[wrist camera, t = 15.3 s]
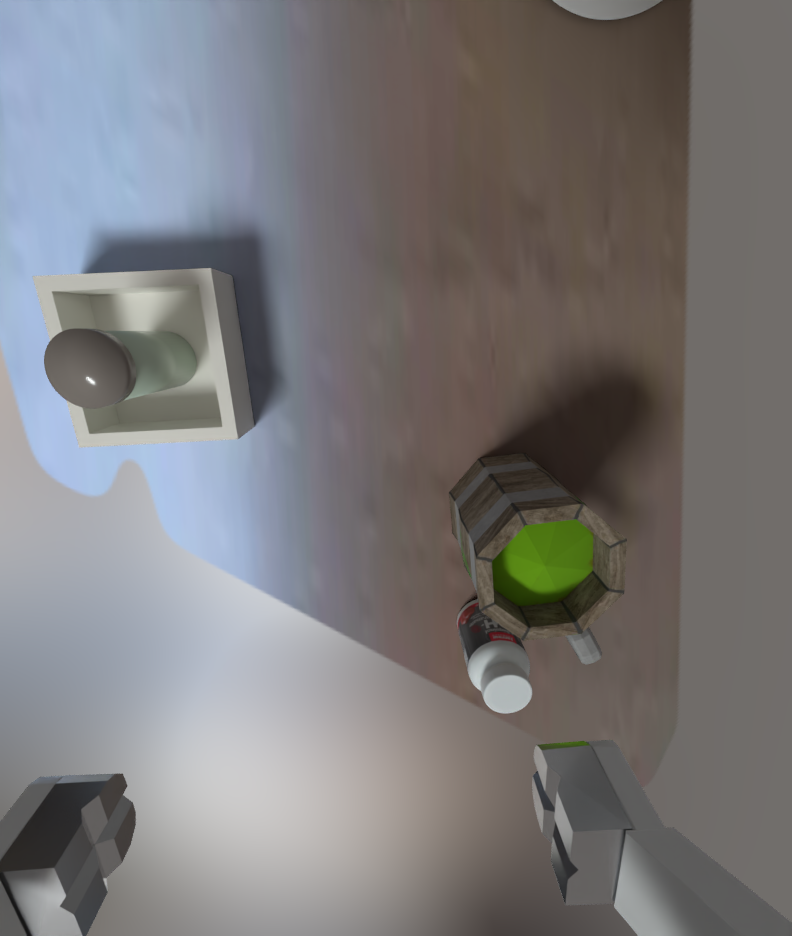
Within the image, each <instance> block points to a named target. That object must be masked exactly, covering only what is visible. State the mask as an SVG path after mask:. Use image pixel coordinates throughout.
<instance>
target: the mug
mask: <svg viewBox="0 0 792 936" xmlns="http://www.w3.org/2000/svg"><path fill="white" fill-rule="evenodd" d="M449 498H450V510H451V521H452V533H453V535H454V536H455V538H456V539H457V541H458V542H459V545H460V548H461V551H462V556H463V561H464V566H465V568H466V570H467V571H468V573H469V575H470V577H471V579H472V581H473V584H474V586H475V589H476V592H477V597H478V603H479V610H480V611H481V612H482V613H484V614H485V615H487V616H488V617H489V618H491V619H492V620H494V621H495V622H497V623H498V624H500V625H501V626H502V627H504V628H505V629H507V630H508V631H510V632H511V633H513V634H514V635H516V636H517V637H518V638H520V639H521V640H523V641H526V640H534V639H543V638H551V637H559V636H566V638H567V639H568V641H569V643H570V645H571V646H572V648H573V650H574V651H575V653H576V655H577V656H578V658H579V659H580V661H581V662H582V663H584V664H591V663H595V662H596V661H597V660H599V659H600V658H601V655H602V652H601V649H600V646H599V645H598V643H597V641H596V639H595V637H594V636H593V634H592V632H591V630H590V629H589V626H590V625H591V624H592V623H593V622H594V621H595V620H597V619H598V618H599V617H600V616H601V615H602V614H603V613H604V612H605V611H606V610H607V609H608V608H609V607H610V606H611V605H612V604H613V603H614V602H616V601H617V600H618V599H619V598H620V597H621V596H622V595H623V594H624V585H625V564H626V542H627V539H626V538H624V537H623V536H622V535H621V534H619V533H618V532H617V531H616V530H615V529H613V528H612V527H611V526H610V525H608V524H607V523H606V522H605V521H603V520H602V519H601V518H600V517H599V516H597V515H596V514H595V513H594V512H592V511H591V510H590V509H589V508H588V507H587V506H586V505H585V504H584V503H583V502H582V501H581V500H579V499H578V498H577V497H576V496H574V495H573V494H572V493H571V492H570V491H568V490H567V489H566V488H565V487H563V486H562V485H561V484H560V483H559V481H558V480H557V479H556V478H555V477H553V476H552V475H551V474H550V473H549V472H547V471H546V470H545V469H544V468H542V467H541V466H540V465H539V464H538V463H536V462H535V461H534V460H533V459H531V458H530V457H529V456H528V455H526V454H525V453H519V454H511V455H503V456H495V457H487V458H479V459H478V460H477V461H476V462H475V463H474V464H473V466H472V467H471V468H470V469H469V470H468V471H467V472H466V474H465V475H464V476H463V477H462V478H461V479H460V481H459V482H458V483H457V484H456V485H455V486H454V487H453V489H452V490H451V491H450V492H449Z"/></svg>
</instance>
